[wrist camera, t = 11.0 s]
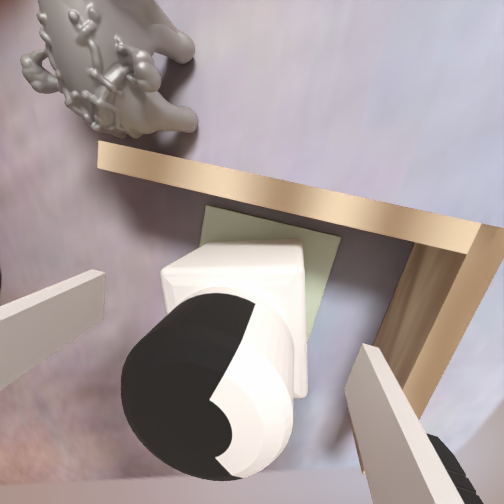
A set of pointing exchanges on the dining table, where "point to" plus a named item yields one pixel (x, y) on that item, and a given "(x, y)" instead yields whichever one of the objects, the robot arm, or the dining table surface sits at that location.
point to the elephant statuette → (110, 64)
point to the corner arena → (377, 221)
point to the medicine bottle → (222, 360)
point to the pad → (254, 228)
